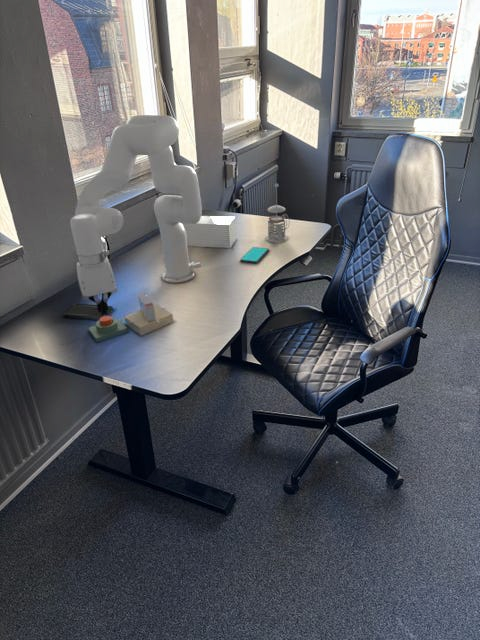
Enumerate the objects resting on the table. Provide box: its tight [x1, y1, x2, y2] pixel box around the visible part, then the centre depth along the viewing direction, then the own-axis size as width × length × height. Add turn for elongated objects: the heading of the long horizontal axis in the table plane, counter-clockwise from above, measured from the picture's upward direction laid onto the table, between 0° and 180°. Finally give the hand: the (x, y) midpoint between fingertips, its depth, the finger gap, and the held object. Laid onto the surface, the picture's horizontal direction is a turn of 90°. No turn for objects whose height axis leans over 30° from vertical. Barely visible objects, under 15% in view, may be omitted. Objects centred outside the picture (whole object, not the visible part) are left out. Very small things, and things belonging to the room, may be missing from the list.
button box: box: [87, 316, 128, 343], centre depth 146 cm, size 10×8×4 cm
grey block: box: [137, 293, 156, 322], centre depth 147 cm, size 9×3×6 cm, turn 26°
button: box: [100, 315, 113, 326], centre depth 144 cm, size 4×4×2 cm
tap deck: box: [123, 303, 174, 337], centre depth 149 cm, size 13×13×3 cm
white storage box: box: [182, 215, 237, 249], centre depth 210 cm, size 32×11×11 cm, turn 76°
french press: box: [265, 183, 290, 244], centre depth 206 cm, size 10×12×25 cm
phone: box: [63, 303, 114, 321], centre depth 157 cm, size 8×1×15 cm
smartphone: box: [240, 246, 270, 264], centre depth 195 cm, size 7×1×15 cm
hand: (103, 312), depth 143 cm, fingers closed
